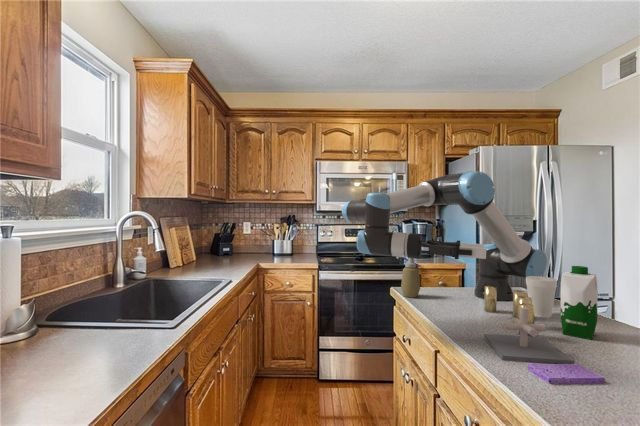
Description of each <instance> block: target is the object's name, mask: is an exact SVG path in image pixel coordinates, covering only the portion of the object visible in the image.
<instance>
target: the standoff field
mask: <svg viewBox="0 0 640 426" xmlns="http://www.w3.org/2000/svg"><path fill="white" fill-rule="evenodd" d="M512 291H513V299H512V318H518V319H519V320H520V307H526V308H528V324H535V316H534V307H535V306H534V305H532V298H530V297H528V296H527V290H521V289H520V290H518V289H513V290H512ZM497 301H498V300H497V287H495V286H485V299H484V310H483V311H484V312H486V313H490V314H491V313H494V314H495V312H496V313H497V303H498V302H497ZM518 336H520V330H518ZM528 336H530V337H535V336H531V335H530V334H528Z"/></svg>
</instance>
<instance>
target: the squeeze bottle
mask: <svg viewBox="0 0 640 426" xmlns="http://www.w3.org/2000/svg"><path fill="white" fill-rule="evenodd" d="M404 266H405V267H404V268H403V269H402V276H401V282H400V283H401V284H400V289H401V291H402V292H401V293H402V295H403V297H405V298H418V297H419V296H418V295H419V293H420V290H421V283H420V272H419V269H418V268H417V262H414V258H408V260H407V262H405V264H404Z"/></svg>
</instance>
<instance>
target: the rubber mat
mask: <svg viewBox="0 0 640 426" xmlns="http://www.w3.org/2000/svg"><path fill="white" fill-rule="evenodd" d="M482 337H483V339H484V340H485V341H486V342H487V344H488V345H489V346H490V347H491V348H492V350H494V352H495V353H496V354H497V355H498V357H500V358H501V360H502V361H504V360H505V361H513V362H514V361H517V362H529V363H540V364H555V363H557V364H559V365H560V364H575V360H574V359H573V358H571V357H570V356H569V355H568V354H566V353H565V352H564V351H562V350H561V349H559V348H558V347H557V346H555V345H554V344H553V343H552V342H550V341H549V340H547V338H545V337H544V336H534V337H530V336H528V347H522V346H520V335H513V334H512V335H511V334H510V335H509V334H496V333H495V334H494V333H482Z"/></svg>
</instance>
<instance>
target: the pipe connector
mask: <svg viewBox="0 0 640 426" xmlns="http://www.w3.org/2000/svg"><path fill="white" fill-rule="evenodd" d="M502 329H503V330H506V331H519V330H520V335H519V336H520V346H522V347H528V334H530V335H531V336H534V337H537V336H538V332H545V331H546V330H547V329H546V325H545V324H543V323H534V324H528V308H526V307H520V320H519V319H518V318H514V317H512V319H511V322H503V323H502Z"/></svg>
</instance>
